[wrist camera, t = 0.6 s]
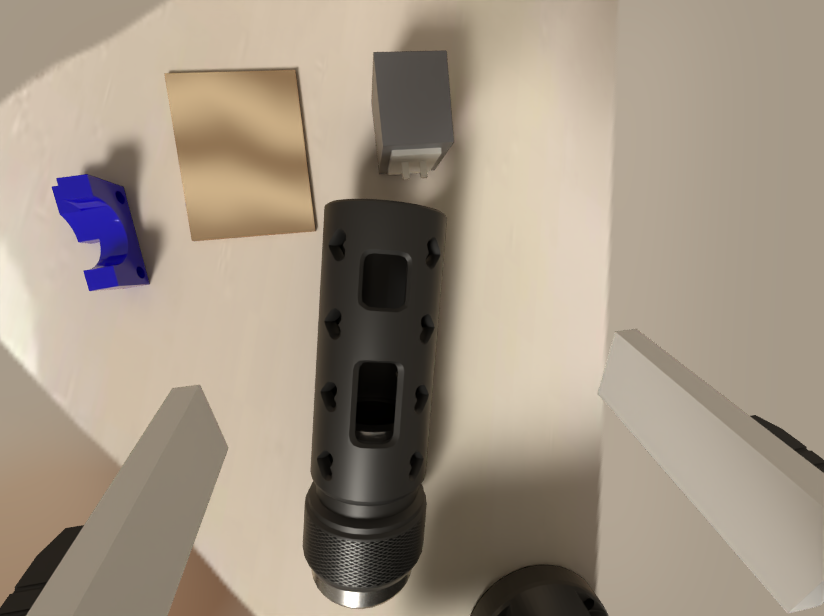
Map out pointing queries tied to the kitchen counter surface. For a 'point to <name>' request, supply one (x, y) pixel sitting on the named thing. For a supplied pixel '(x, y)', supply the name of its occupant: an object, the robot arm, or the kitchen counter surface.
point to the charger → (411, 111)
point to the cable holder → (103, 230)
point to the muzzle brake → (372, 397)
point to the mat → (241, 153)
